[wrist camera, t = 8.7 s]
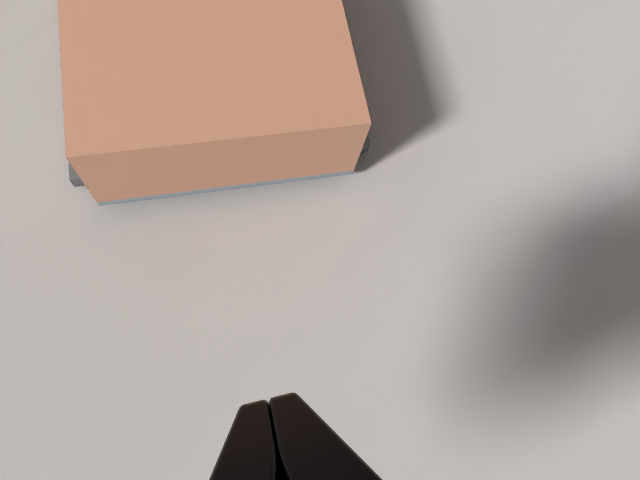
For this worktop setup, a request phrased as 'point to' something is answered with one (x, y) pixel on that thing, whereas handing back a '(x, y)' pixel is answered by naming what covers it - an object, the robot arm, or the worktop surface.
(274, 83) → the tan flat block
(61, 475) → the worktop surface
